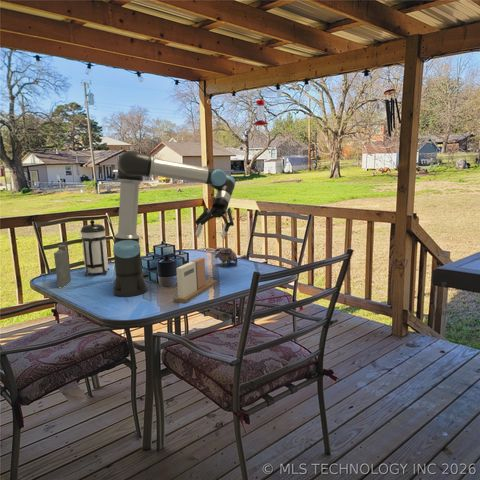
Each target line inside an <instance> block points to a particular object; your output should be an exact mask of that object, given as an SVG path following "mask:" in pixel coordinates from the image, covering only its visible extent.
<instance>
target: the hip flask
mask: <svg viewBox="0 0 480 480" xmlns="http://www.w3.org/2000/svg"><path fill="white" fill-rule="evenodd" d="M57 248H58V250H57V251H55V252H53V257H54V267H55V275H56V281H57V282H56V283H57V288H58V287H64V286H66V285H67V284H68V283H69V282H70V281H71V282H72V278H71V277H72V276H71V269H70V260H69V252H68V247H66V244H60V245H59V244H58V245H57ZM71 282H70V283H71ZM70 283H69V284H70ZM69 284H68V285H69ZM68 285H67V286H68ZM67 286H66V287H67ZM64 288H65V287H64Z"/></svg>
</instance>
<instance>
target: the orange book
mask: <svg viewBox="0 0 480 480" xmlns="http://www.w3.org/2000/svg"><path fill="white" fill-rule="evenodd" d="M205 260H206V259H205V257H198V258H196V259H194V260H191V261H190V262H196V279H197V289H199V288H201V287H202V286H204V285H206V264H205Z"/></svg>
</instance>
